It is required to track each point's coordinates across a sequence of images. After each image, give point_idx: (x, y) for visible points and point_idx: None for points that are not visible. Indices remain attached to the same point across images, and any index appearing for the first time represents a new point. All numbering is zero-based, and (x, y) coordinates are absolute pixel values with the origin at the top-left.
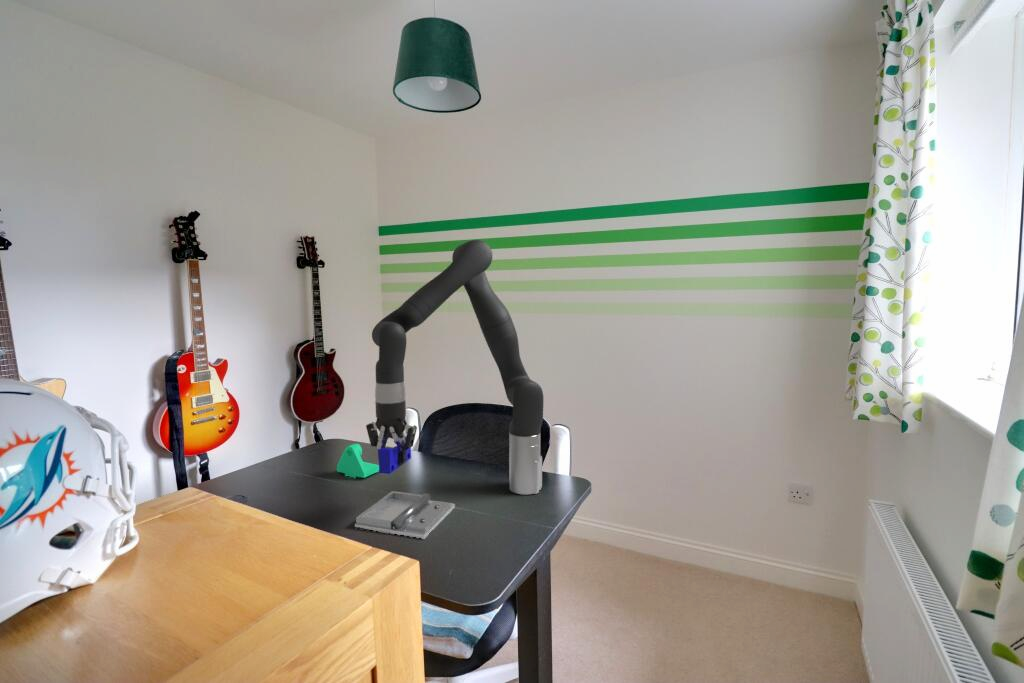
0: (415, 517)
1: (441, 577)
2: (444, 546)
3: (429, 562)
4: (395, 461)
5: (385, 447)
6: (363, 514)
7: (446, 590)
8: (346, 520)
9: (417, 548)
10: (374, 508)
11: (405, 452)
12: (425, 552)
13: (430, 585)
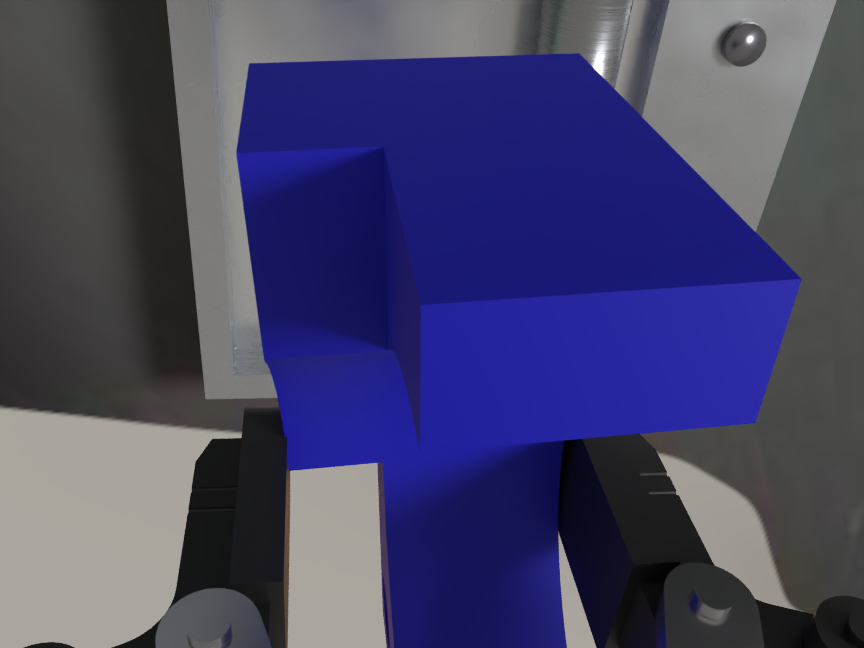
0: None
1: (820, 554)
2: (816, 385)
3: (759, 499)
4: (554, 594)
5: (259, 581)
6: (225, 351)
7: None
8: (66, 297)
9: (679, 433)
10: (224, 222)
11: (699, 561)
12: (726, 449)
13: (784, 593)
